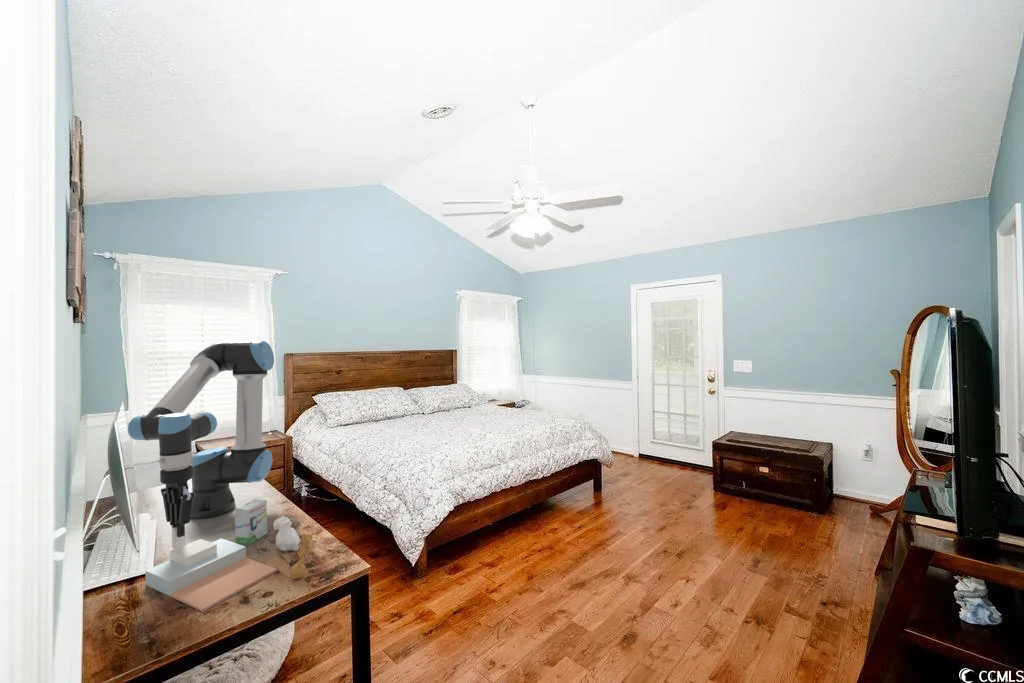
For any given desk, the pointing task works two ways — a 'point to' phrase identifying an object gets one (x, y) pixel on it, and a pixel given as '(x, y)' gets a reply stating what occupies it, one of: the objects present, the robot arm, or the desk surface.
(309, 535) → the figurine
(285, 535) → the white tied bag
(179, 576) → the plate
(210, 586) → the mat
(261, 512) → the ink box
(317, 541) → the desk surface
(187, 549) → the coaster
